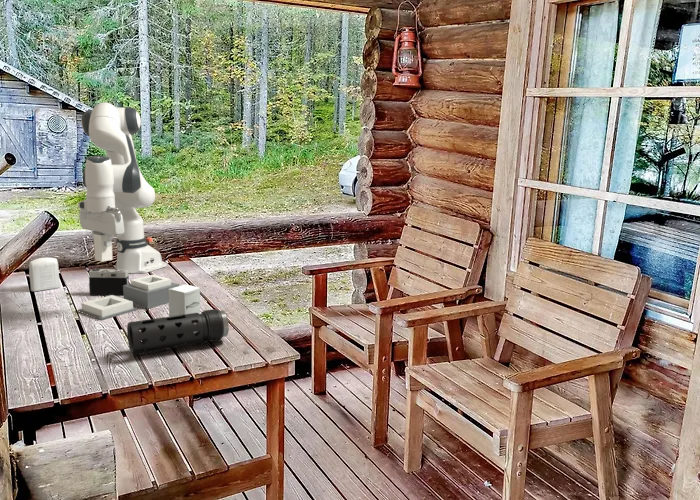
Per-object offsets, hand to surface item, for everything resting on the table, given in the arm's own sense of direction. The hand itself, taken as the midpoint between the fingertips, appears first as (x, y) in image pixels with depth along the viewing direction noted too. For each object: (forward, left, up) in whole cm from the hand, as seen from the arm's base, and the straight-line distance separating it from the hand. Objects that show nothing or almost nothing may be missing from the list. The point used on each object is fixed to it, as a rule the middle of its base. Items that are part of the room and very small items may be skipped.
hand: (103, 245), depth 201 cm
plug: (0, 0, -5) cm, 5 cm away
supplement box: (-8, +31, -24) cm, 40 cm away
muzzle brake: (+6, +45, -24) cm, 51 cm away
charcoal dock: (-17, +2, -24) cm, 29 cm away
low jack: (0, 0, -24) cm, 24 cm away
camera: (-13, -17, -24) cm, 32 cm away
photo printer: (0, -40, -24) cm, 46 cm away
